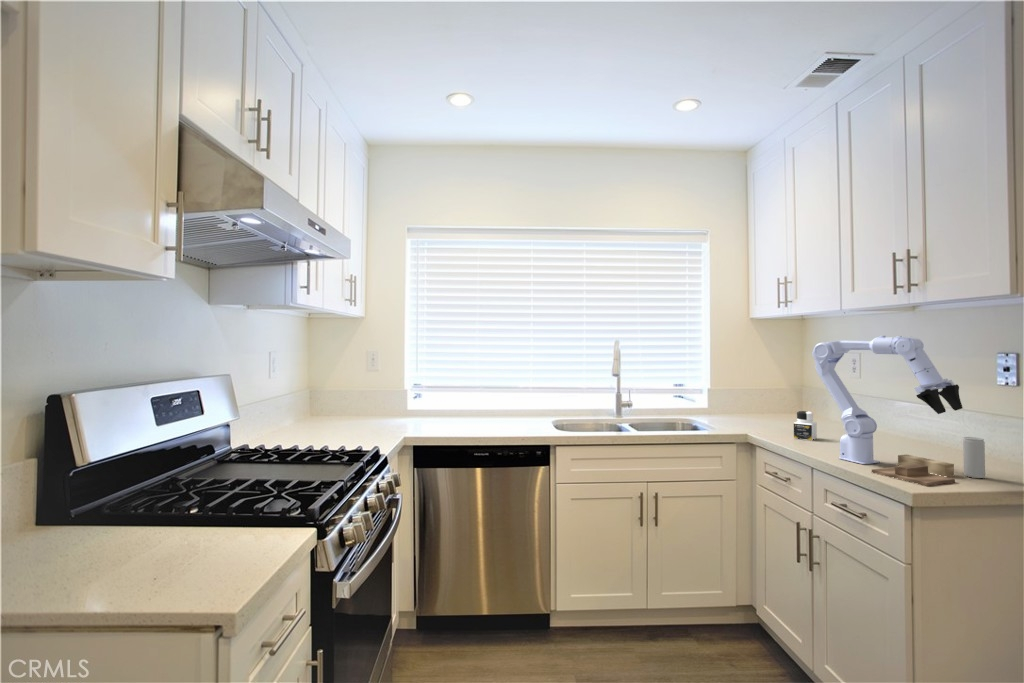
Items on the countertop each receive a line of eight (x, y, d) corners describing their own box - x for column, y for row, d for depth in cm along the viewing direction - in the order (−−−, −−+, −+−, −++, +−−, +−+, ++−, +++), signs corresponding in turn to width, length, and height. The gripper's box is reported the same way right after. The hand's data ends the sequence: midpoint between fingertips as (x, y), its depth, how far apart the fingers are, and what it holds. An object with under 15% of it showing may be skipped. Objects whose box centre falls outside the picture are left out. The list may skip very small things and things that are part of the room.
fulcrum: (871, 472, 156) (871, 461, 156) (898, 469, 159) (898, 458, 159) (926, 486, 141) (926, 474, 141) (955, 482, 144) (954, 470, 144)
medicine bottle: (793, 438, 212) (793, 411, 212) (798, 436, 217) (798, 409, 217) (812, 441, 207) (811, 413, 207) (817, 438, 212) (816, 411, 212)
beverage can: (978, 479, 146) (977, 440, 147) (959, 475, 151) (959, 437, 151) (989, 478, 148) (988, 439, 148) (970, 474, 152) (969, 436, 152)
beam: (898, 467, 164) (897, 455, 164) (906, 466, 165) (906, 454, 165) (944, 477, 150) (944, 464, 150) (954, 476, 151) (953, 464, 151)
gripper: (920, 368, 148) (947, 409, 142) (952, 363, 153) (979, 403, 147) (899, 377, 154) (924, 417, 148) (931, 372, 159) (956, 411, 153)
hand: (950, 411), depth 148 cm, fingers open, 7 cm apart
